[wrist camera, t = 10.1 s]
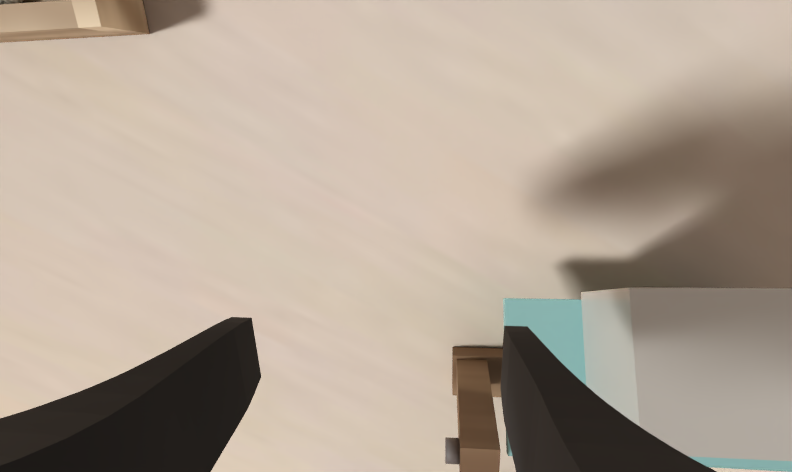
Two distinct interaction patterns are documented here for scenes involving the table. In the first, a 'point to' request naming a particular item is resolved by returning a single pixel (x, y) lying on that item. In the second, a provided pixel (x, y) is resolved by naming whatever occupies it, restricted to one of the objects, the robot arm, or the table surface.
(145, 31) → the square wooden tray
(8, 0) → the rock sample
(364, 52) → the table surface
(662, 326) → the light grey cube
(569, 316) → the trapdoor
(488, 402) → the frame
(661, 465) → the robot arm
